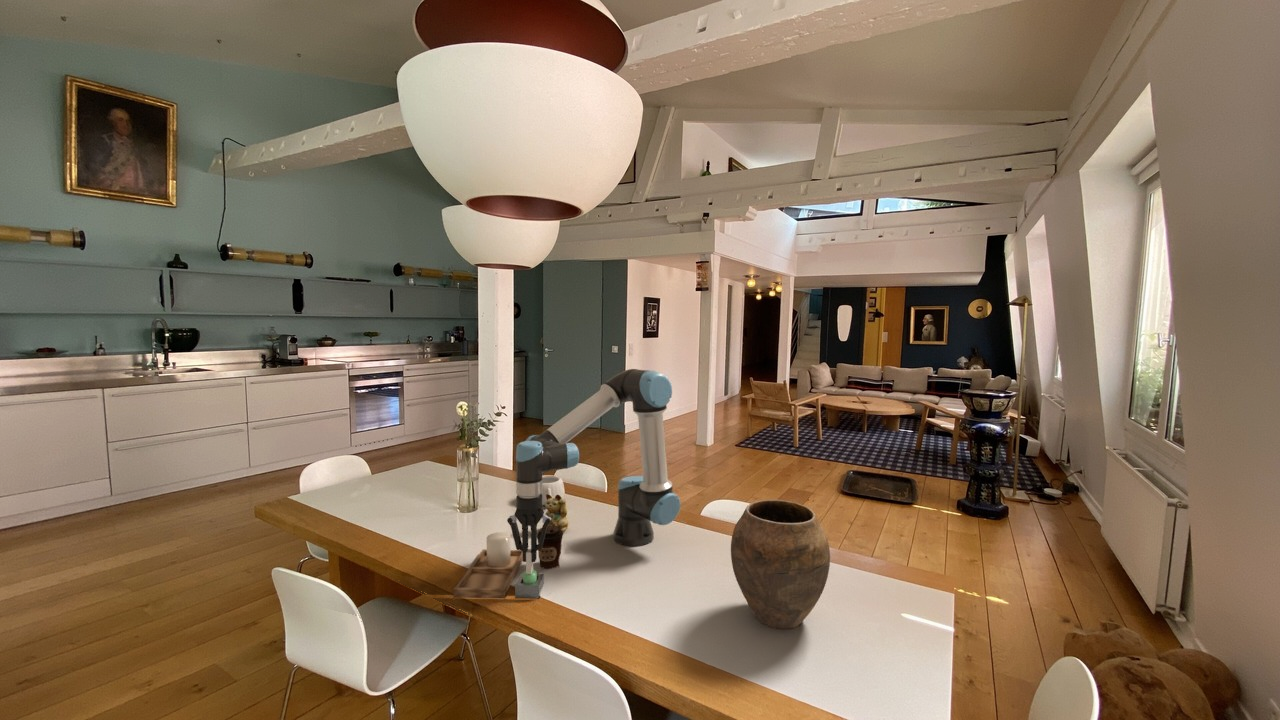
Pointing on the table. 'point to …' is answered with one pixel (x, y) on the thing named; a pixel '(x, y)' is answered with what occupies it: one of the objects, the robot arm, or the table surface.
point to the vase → (780, 561)
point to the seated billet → (498, 549)
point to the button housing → (529, 588)
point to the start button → (530, 577)
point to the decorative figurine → (557, 511)
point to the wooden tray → (488, 578)
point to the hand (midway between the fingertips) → (529, 571)
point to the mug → (551, 487)
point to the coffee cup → (550, 547)
